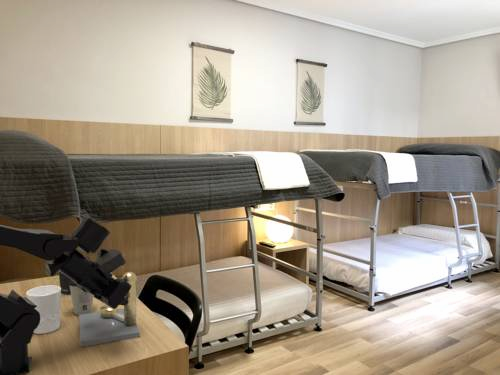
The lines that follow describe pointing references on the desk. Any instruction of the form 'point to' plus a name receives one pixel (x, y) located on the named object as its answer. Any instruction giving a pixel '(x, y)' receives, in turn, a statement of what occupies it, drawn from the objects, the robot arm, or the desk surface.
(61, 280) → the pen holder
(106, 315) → the brass crank handle
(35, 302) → the white cup
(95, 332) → the gray board
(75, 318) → the desk surface
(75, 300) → the coffee cup
